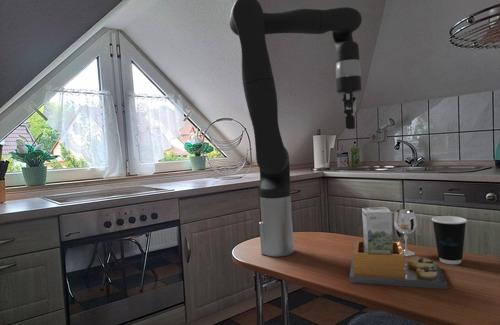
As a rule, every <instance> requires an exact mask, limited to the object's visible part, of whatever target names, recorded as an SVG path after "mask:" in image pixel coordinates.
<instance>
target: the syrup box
mask: <svg viewBox="0 0 500 325" xmlns="http://www.w3.org/2000/svg"><path fill="white" fill-rule="evenodd" d="M361 212H362V214H361V216H362V238H363V239H362V241H363V242H364V253H382V254H393V244H392V242H393V217H392V216H393V215H392V212H391V210H390V209H389V208H388V207H385V206H383V207H381V206H380V207H362V209H361Z"/></svg>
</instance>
